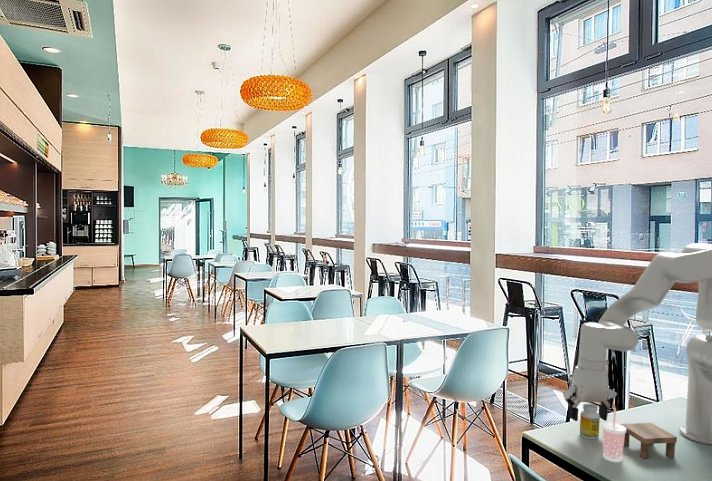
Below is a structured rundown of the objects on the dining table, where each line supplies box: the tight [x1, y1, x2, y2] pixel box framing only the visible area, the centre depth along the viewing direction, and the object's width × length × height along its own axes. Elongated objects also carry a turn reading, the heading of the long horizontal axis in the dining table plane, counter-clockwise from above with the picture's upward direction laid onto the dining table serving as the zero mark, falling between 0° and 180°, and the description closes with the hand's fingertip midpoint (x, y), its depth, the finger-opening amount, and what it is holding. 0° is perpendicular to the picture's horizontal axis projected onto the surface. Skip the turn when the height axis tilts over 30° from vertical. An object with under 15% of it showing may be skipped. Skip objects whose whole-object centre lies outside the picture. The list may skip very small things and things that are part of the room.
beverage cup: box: [601, 408, 626, 463], centre depth 141 cm, size 6×6×14 cm
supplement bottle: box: [579, 402, 601, 440], centre depth 156 cm, size 5×5×10 cm
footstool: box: [620, 422, 678, 460], centre depth 147 cm, size 10×10×6 cm
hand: (588, 419), depth 156 cm, fingers open, 9 cm apart
